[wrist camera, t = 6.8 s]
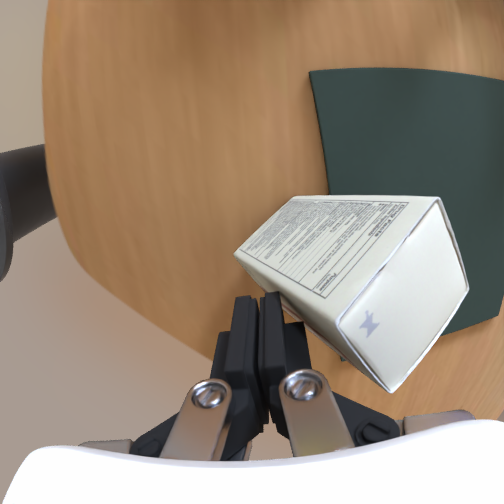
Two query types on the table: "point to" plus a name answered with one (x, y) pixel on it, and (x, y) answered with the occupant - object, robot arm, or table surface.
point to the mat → (424, 157)
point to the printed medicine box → (363, 275)
